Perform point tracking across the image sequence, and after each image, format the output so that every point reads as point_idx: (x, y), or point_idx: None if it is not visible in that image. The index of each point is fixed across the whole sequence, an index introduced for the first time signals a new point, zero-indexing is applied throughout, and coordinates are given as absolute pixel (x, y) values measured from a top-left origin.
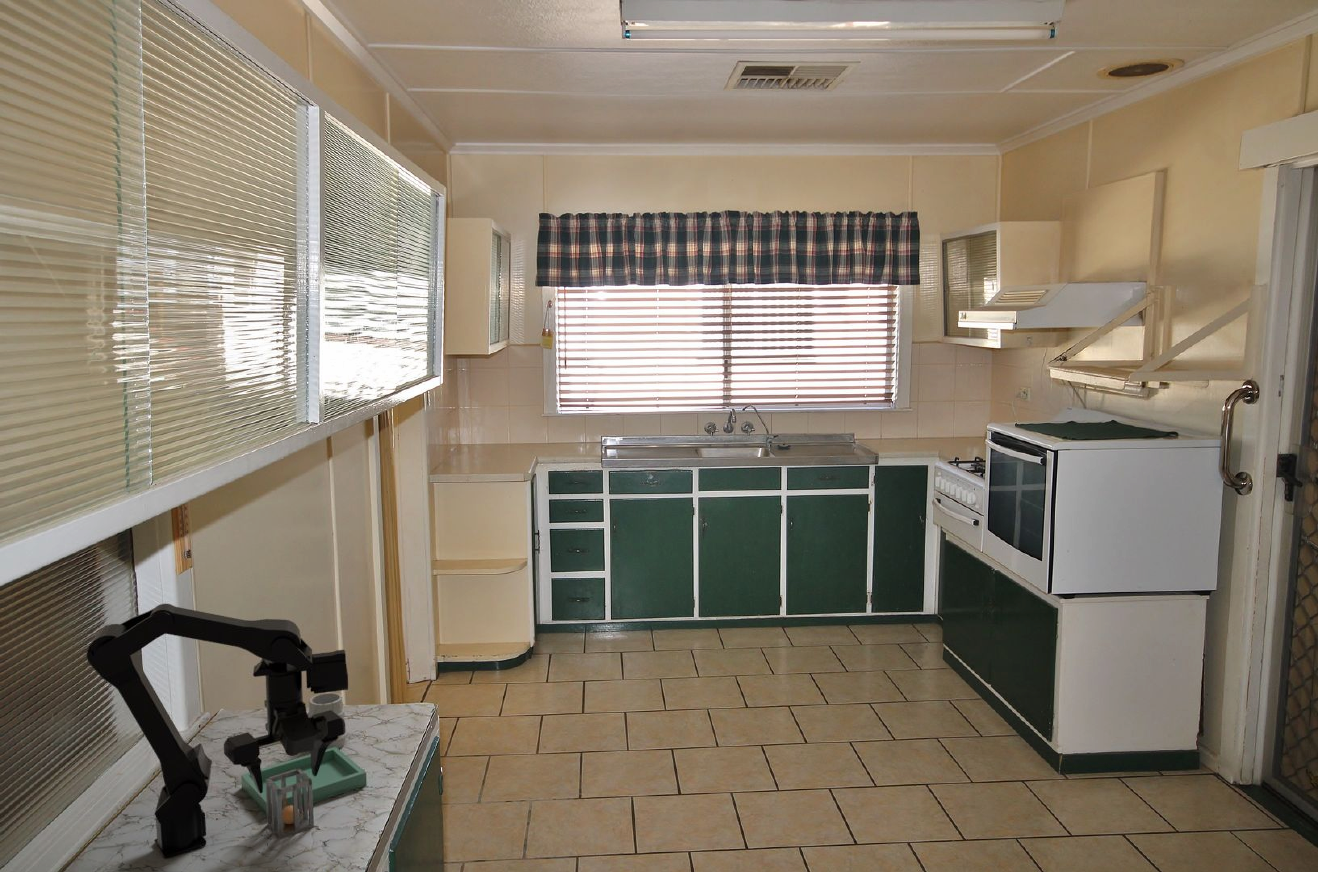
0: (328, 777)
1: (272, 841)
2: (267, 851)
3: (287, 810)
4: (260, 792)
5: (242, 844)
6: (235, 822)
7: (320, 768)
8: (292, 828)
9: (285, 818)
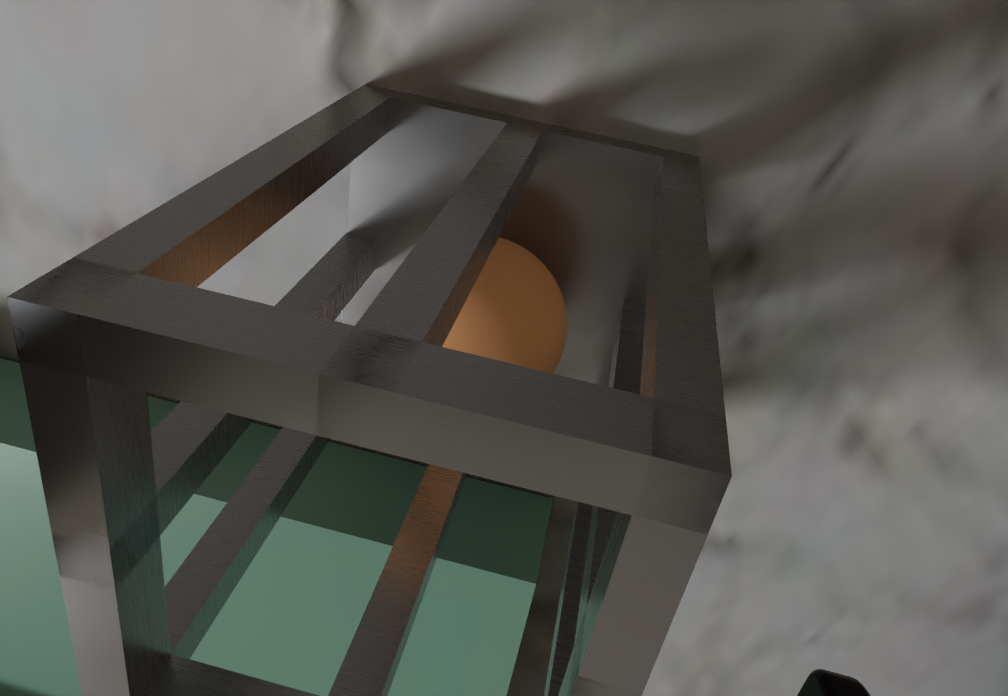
0: (16, 565)
1: (772, 171)
2: (944, 34)
3: (506, 339)
4: (860, 691)
5: (959, 347)
6: (739, 623)
7: (32, 669)
8: (535, 191)
9: (552, 296)
